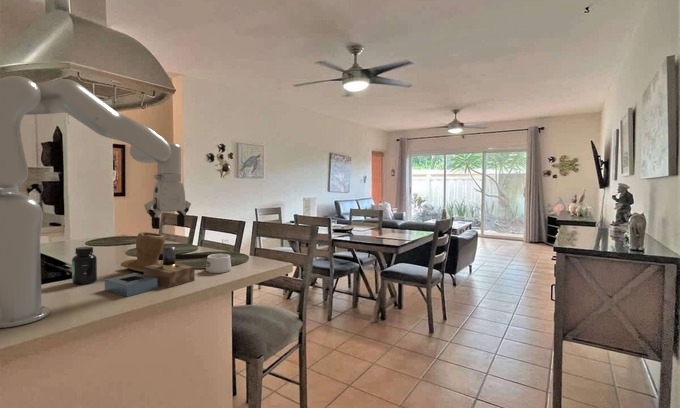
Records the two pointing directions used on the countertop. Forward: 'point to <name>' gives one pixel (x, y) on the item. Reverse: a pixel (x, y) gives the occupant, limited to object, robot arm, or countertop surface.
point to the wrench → (185, 256)
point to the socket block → (130, 284)
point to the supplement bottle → (84, 266)
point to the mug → (218, 263)
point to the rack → (171, 274)
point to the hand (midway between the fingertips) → (168, 227)
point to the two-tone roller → (168, 257)
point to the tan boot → (146, 251)
